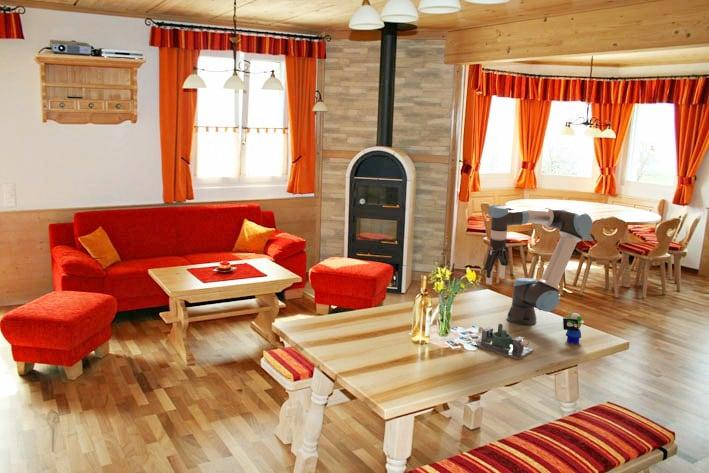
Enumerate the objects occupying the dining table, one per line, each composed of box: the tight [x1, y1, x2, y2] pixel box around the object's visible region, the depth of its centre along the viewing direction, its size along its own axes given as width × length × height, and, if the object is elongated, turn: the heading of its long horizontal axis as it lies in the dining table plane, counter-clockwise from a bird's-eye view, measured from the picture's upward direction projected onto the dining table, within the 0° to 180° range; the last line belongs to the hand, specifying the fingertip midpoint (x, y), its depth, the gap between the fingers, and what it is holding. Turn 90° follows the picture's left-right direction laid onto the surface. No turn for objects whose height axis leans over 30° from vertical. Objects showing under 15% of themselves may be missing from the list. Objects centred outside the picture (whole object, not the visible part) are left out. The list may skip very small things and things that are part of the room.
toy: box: [562, 312, 585, 345], centre depth 303 cm, size 9×9×15 cm
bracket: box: [492, 323, 513, 348], centre depth 293 cm, size 9×9×9 cm
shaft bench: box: [473, 326, 535, 361], centre depth 293 cm, size 15×25×7 cm, turn 47°
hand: (495, 281), depth 303 cm, fingers open, 13 cm apart
